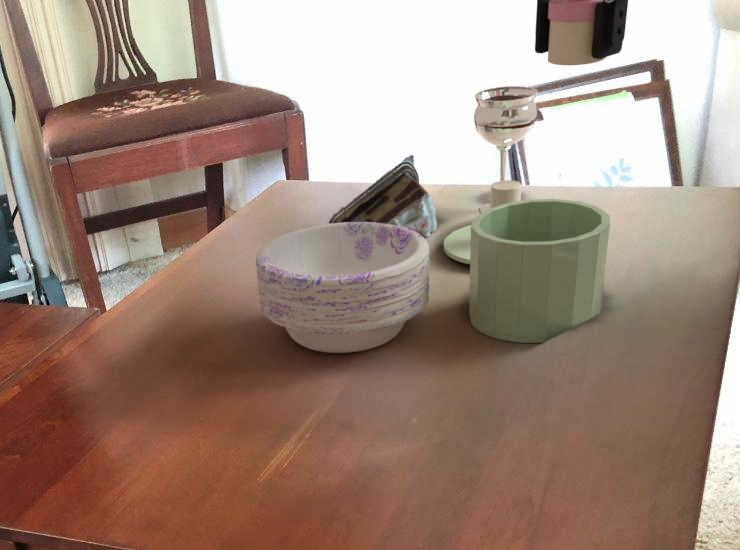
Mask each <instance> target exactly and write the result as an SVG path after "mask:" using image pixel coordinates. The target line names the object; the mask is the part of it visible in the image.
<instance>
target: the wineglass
mask: <svg viewBox="0 0 740 550" xmlns="http://www.w3.org/2000/svg"><path fill="white" fill-rule="evenodd" d="M538 93H539V91H538V89H536V88H534V87H530V86H521V85H507V86H498V87H492V88H487V89H483V90H481V91H478V92H476V93H475V94H474V98H475V102H476V103H477V105H476V106H475V108H474V112H473V120H474V126H475V129H476V132H477V134H478V135H479V136H480V137H481V138H482V139H483V140H484V141H486V142H487V143H488V144H491V145H493V146H495V148H496V149H497V150H498V151H499V181H506V174H507V161H508V151H509V150H511V148H512V146H513V145H514V144H517V143H518V142H520V141H522V140H523V139H524V138H526V136H527V135H528V134H529V133H530V132H531V130H532V129H533V128H534V127H535V123H536V122H537V119H538V107H537V104H536V103H535V99H536V96H537V94H538ZM487 209H490V203H486V204H484V205H482V206H481V207H480V208H479V212H480V213H482V212H483V211H484V210H487Z"/></svg>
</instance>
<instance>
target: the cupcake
mask: <svg viewBox="0 0 740 550" xmlns="http://www.w3.org/2000/svg"><path fill="white" fill-rule="evenodd" d="M602 1H603V0H550V1H549V9H548V19H550V32H549V48H548V52H547V63H549V64H552V65H556V66H582V65H590V64H595V63H599V62H602V61H604V60H605V59H607V57H605V58H602V59H594V58H593V56H592V55H591V52H592V41H593V29H594V18H595V8H596V5H597V3H599V2H602Z"/></svg>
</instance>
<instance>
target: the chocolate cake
mask: <svg viewBox="0 0 740 550" xmlns="http://www.w3.org/2000/svg"><path fill="white" fill-rule="evenodd" d="M414 159H415V157H414V155H413V154H411V155H409V156H406V157H405V158H404V159H403V160H402V161H401V162H399V163H398V164H397V165H396V166H394V167H393V168H391V169H390V170H388V171H387V172H385V173H384V174H383V175H382V176H381V177H380V178H378V179H377V180H376V181H375V182H373V183H372V184H371V185H370V186H368V187H367V188H366V189H365V190H364V191H362V192H361V193H360V194H358V195H357V196H356V197H354V198H353V199H352V201H350V202H349V203H348V204H346V205H345V206H343V207H341V208H340V209H338V210H337V211H336V212H335V213H333V214H332V216H331V217H330V218H329V220H328V222H327V224H331V223H343V222H375V223H385V224H390V225H396V226H400V227H404V228H408V229H410V230H413V231H415V232H417V233H419V234H420V235H422V236H423V237H424V238H428V237H430V236H431V232H435V231H436V229H437V227H438V222H437V216H436V213H437V212H436V207H435V203H434V199H433V198H432V196H431V194H430V193H429V192H428V191H427V190H426V189H425V188H424V187H423V185H421V183H420V178H419V173H418V171H417V169H416V167H415V163H414V162H415V160H414Z"/></svg>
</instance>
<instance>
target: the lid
mask: <svg viewBox="0 0 740 550" xmlns="http://www.w3.org/2000/svg"><path fill="white" fill-rule="evenodd" d="M518 201H522V183H521V182H520V181H518V180H507V179H505V181H500V180H498V181H495V182H493V183H492V184H491V185H490V208H493V207H496V206H499V205H502V204H505V203H512V202H518ZM471 225H472V224H469V225H467V226H464V227H461V228H459V229H456V230H454V231H452V232H450V233H449V235H447V236H446V237H445V239H444V240H443V251H444V253H445V254H446V255H447V256H448V257H449V258H451V259H452V260H454V261H457V262H460V263H462V264H466V265H470V249H471Z"/></svg>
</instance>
